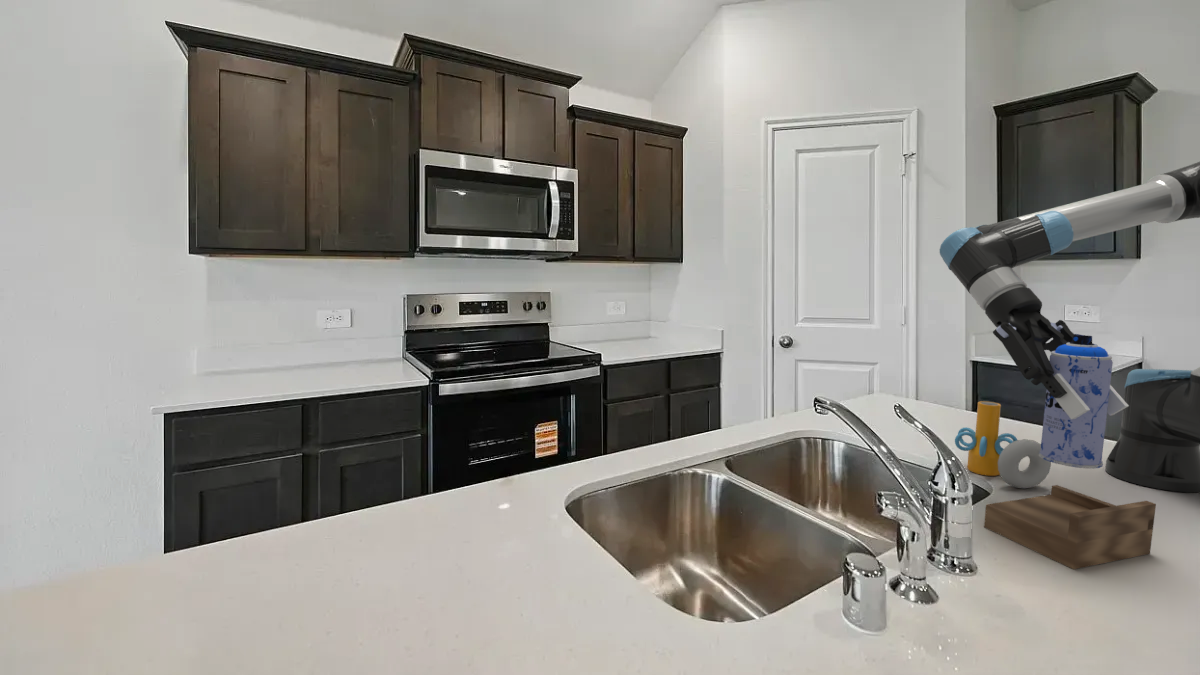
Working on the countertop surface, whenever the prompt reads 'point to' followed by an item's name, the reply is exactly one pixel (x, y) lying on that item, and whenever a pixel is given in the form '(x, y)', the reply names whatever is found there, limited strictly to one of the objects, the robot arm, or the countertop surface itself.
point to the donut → (1012, 458)
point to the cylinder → (984, 440)
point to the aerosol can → (1091, 382)
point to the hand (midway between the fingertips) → (1100, 412)
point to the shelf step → (1075, 527)
